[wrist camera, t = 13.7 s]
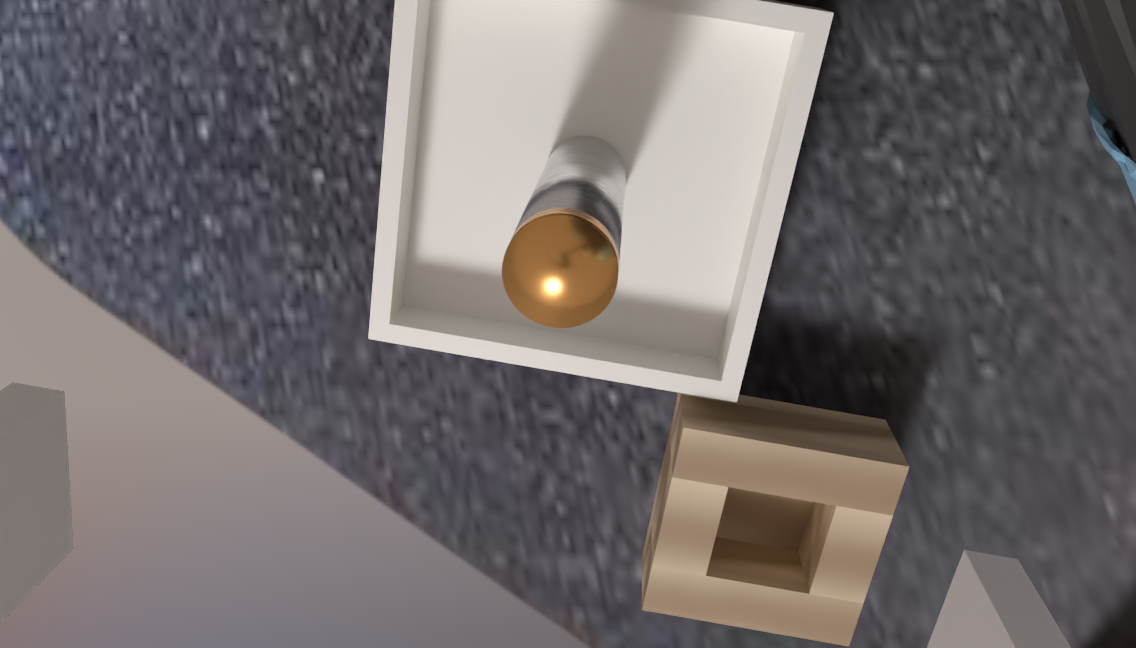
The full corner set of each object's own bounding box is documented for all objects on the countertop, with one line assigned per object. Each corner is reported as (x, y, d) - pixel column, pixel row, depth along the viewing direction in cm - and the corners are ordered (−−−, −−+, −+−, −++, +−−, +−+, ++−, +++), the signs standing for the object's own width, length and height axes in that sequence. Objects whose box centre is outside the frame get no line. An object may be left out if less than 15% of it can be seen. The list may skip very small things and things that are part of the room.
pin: (550, 129, 36) (509, 208, 25) (632, 143, 36) (627, 228, 25) (539, 208, 37) (494, 317, 26) (618, 222, 37) (607, 337, 26)
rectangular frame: (419, -59, 35) (399, -60, 32) (818, 7, 35) (833, 12, 32) (387, 311, 40) (368, 338, 38) (730, 371, 40) (736, 402, 37)
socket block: (680, 384, 41) (683, 427, 37) (885, 419, 41) (909, 466, 37) (642, 554, 44) (641, 610, 40) (831, 587, 44) (849, 646, 40)
